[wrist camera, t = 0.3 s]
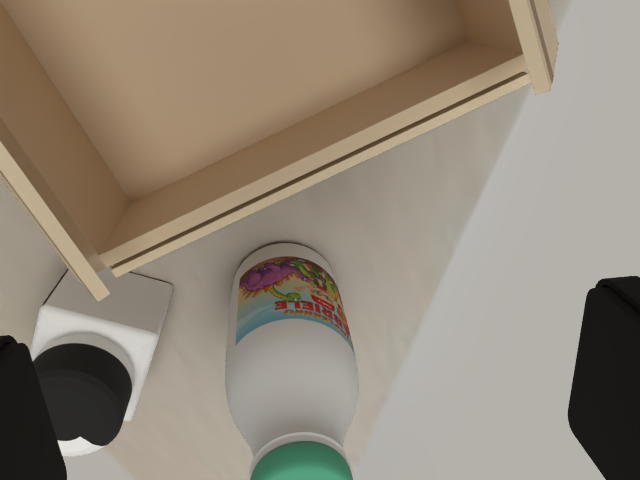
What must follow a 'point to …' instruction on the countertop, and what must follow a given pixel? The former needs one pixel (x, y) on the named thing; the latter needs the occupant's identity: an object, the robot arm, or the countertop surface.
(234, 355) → the milk bottle
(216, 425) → the countertop surface
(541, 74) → the flap
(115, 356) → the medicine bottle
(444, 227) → the countertop surface
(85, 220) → the carton
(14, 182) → the flap
